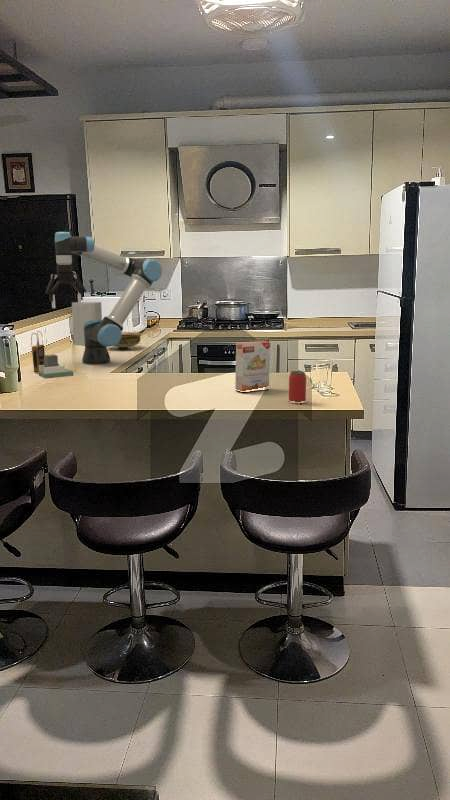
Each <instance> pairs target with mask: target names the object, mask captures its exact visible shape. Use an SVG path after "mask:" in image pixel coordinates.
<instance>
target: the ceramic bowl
mask: <svg viewBox="0 0 450 800" xmlns="http://www.w3.org/2000/svg"><path fill="white" fill-rule="evenodd" d="M121 335H122V336H121V339H120V341H119V343H118V344H116V345H114V346H113V347H115V348H116V350H117V349H120V350H119V351H127V349H129V350H130V348H131V347H134V346H137V345H138V344H139V343H140V342H141V336H142V335H143V333H141V332H134V331H132V332H131V331H122V332H121Z"/></svg>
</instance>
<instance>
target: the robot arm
mask: <svg viewBox="0 0 450 800" xmlns="http://www.w3.org/2000/svg"><path fill="white" fill-rule="evenodd" d="M95 244H96V243H95V239H94V238H93V237H92V236H72V235H71V232H70V231H57V232H55V233H54V245H55V258H56V260H55V261H56V274H53V273H52V274H50V280H49V282H48V285H47V287H46V289H45V294H48V295H49V302H51V308H52V309H56V298H55V296H56V295H55V292H56V291H57V289H58V288H59V286H60V285H61V284H70V285H71V287H73V288H74V289H75V290H76V291H77V292H78V293H77V302H78V307H82V304H81V302H82V301H83V300H84V298H83V296H84V293H87V290H86V288H85V286H84V284H83V283H82V280H81V279H80V274H79V273H75V274H73V273H74V271H73V265H72V263H73V258H72V257H73V256H72V254H74V255H76V256H81V257H83V258H86V259H88V260H91V261H93V262H96V263H98V264H101V265H104V266H106V267H109V268H112V269H115V270H116V271H119V272H120V273H121V274H122V275H125V276H127V277H130V278H132V279H131V280H130V282H129V284H128V285H127V286H126V289H125V290H124V291H123V293H122V294H121V296H120V298H119V299H118V301H117V302H116V304H115V305H114V307H113V309H112V310H111V312H110V313H109V314H108V315H105V316H104V317H102V320H92V321H85V322H84V339H85V346H84V351H83V356H82V359H81V363H82V364H87V365H104V364H109V363H111V356H110V353H109V352H108V348H109V347H115V346H114V345H116V344H118V343H119V341H120V339H121V336H122V335H121V332H123V330H124V326H123V325H124V323H125V322H126V320H127V319H128V317H129V315H130V314H131V312H132V311H133V310H134V307H135V306H136V305H137V303H138V301H139V300H140V299H141V297H142V295H143V294H144V292H145V291H146V289H149V288H151V287H152V285H153V283H154V282H156V281H159V279H161V277H162V274H163V269H162V265H161V262H159V261H158V260H156V259H155V258H133V257H129V256H122V255H119V254H117V253H115V252H111V251H108V250H106V249H104V248H102V247H99V246H96V245H95ZM56 279H57V280H56ZM74 279H75V280H76V282H77V284H78V285H77V284H76V283H75V281H74ZM55 280H56V282H55ZM54 283H55V284H54Z"/></svg>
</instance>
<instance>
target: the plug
mask: <svg viewBox="0 0 450 800" xmlns="http://www.w3.org/2000/svg"><path fill="white" fill-rule="evenodd" d="M44 364H45V367H54V366H58V364H59V357H58V355H57V354H45V355H44Z"/></svg>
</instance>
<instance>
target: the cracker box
mask: <svg viewBox="0 0 450 800" xmlns="http://www.w3.org/2000/svg"><path fill="white" fill-rule="evenodd" d="M270 356H271V342H269V341H266V340H259V341H243V342H240V341H239V342H236V343H235V389H237V390H240V391H246V390H252V389H258V388H263V387H267V386H269V387H270V363H271V362H270V361H271V360H270V359H271V358H270ZM235 389H234V390H235Z"/></svg>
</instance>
